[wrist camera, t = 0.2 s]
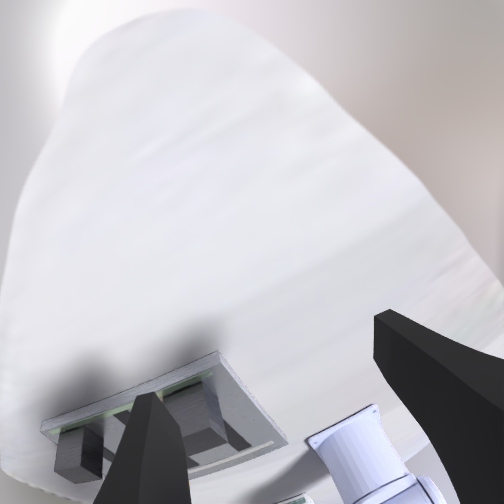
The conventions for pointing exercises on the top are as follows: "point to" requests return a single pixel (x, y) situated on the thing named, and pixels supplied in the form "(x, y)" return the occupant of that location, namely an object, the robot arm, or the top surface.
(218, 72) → the top surface
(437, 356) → the robot arm
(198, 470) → the panel
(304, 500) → the syrup box
